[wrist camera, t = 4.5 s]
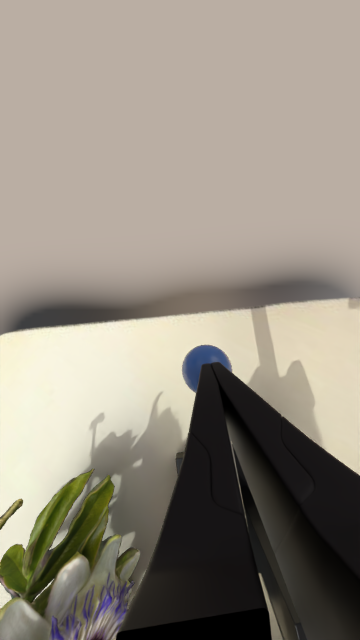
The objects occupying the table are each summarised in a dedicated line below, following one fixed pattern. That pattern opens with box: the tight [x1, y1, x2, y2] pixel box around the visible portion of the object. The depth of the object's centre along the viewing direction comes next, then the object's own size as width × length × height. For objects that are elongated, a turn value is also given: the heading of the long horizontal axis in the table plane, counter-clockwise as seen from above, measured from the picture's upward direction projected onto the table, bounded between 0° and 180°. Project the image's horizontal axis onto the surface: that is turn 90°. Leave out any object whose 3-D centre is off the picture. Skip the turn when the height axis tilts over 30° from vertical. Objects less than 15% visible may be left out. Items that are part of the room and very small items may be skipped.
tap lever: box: [182, 345, 284, 640], centre depth 9 cm, size 15×3×3 cm, turn 9°
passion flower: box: [0, 469, 140, 640], centre depth 12 cm, size 11×11×12 cm
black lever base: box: [176, 444, 307, 640], centre depth 11 cm, size 10×7×10 cm
